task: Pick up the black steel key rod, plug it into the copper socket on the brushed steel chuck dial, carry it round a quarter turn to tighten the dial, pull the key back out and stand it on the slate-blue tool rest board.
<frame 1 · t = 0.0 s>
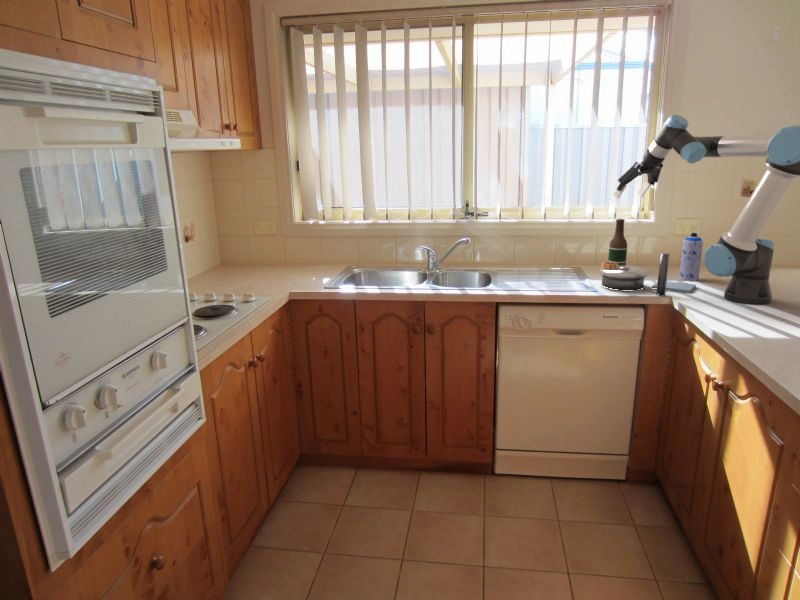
hand: (627, 195, 235), 36 cm above the worktop, tool tilted 35°, fingers open, 13 cm apart
chuck dial: (623, 269, 229), point 7 cm above the worktop, hinge at 0.0°
aerosol can: (688, 279, 242), on the worktop
beer bottle: (616, 271, 261), on the worktop
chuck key: (660, 294, 217), on the worktop
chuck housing: (622, 286, 231), on the worktop
tool rest: (673, 288, 227), on the worktop
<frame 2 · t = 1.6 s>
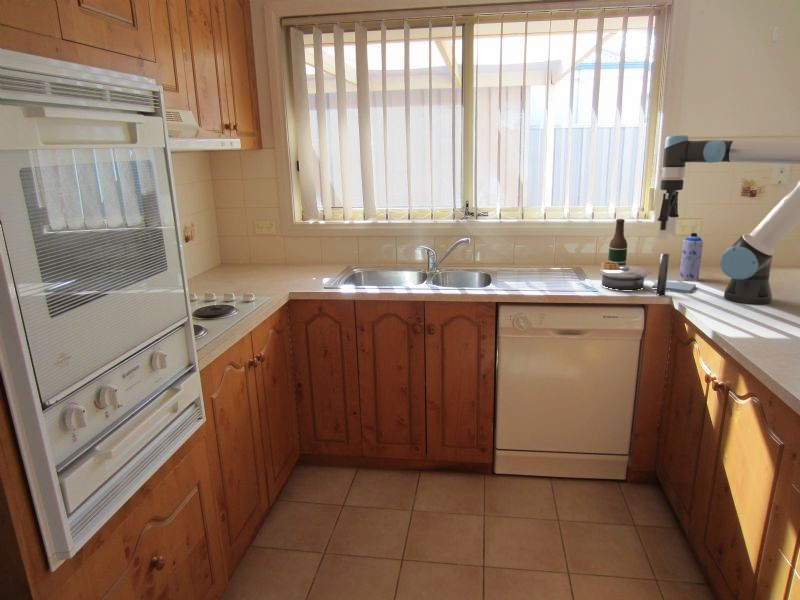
hand: (666, 236, 212), 23 cm above the worktop, tool pointing down, fingers open, 13 cm apart
nothing on the worktop moved.
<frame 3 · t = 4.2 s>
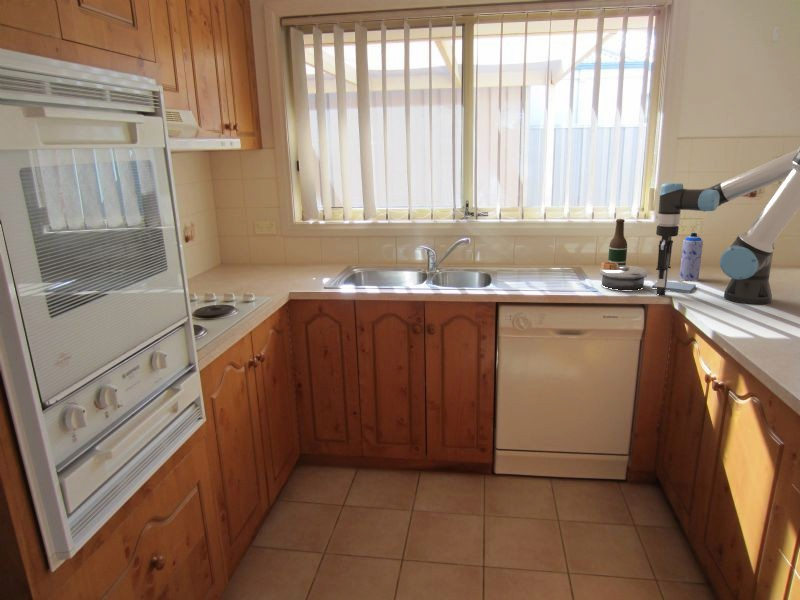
hand: (661, 285, 216), 4 cm above the worktop, tool pointing down, fingers closed on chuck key, 3 cm apart
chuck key: (660, 294, 217), on the worktop, touching gripper
everything else where it was.
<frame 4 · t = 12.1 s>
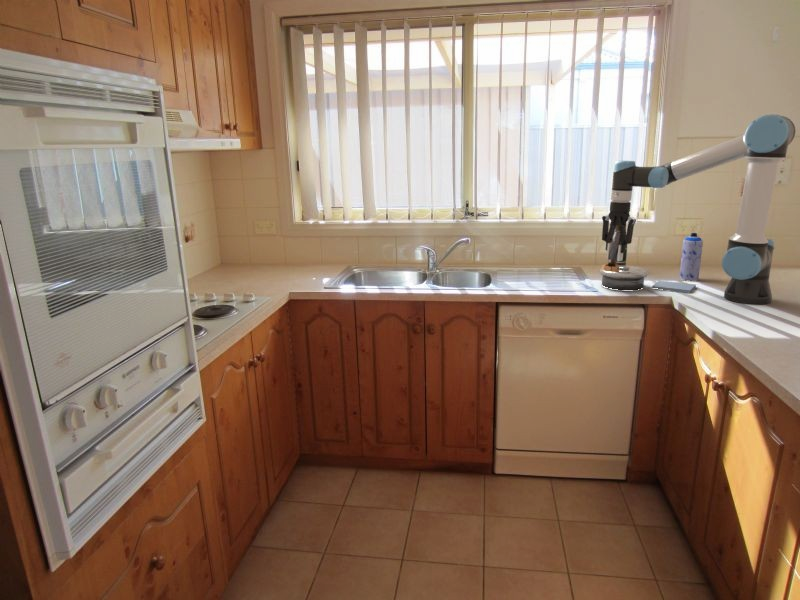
hand: (614, 259, 226), 12 cm above the worktop, tool pointing down, fingers closed on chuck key, 4 cm apart
chuck dial: (623, 269, 229), point 7 cm above the worktop, hinge at 43.2°, touching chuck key
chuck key: (610, 269, 228), point 8 cm above the worktop, tilted 12°, touching chuck dial, gripper
everything else where it was.
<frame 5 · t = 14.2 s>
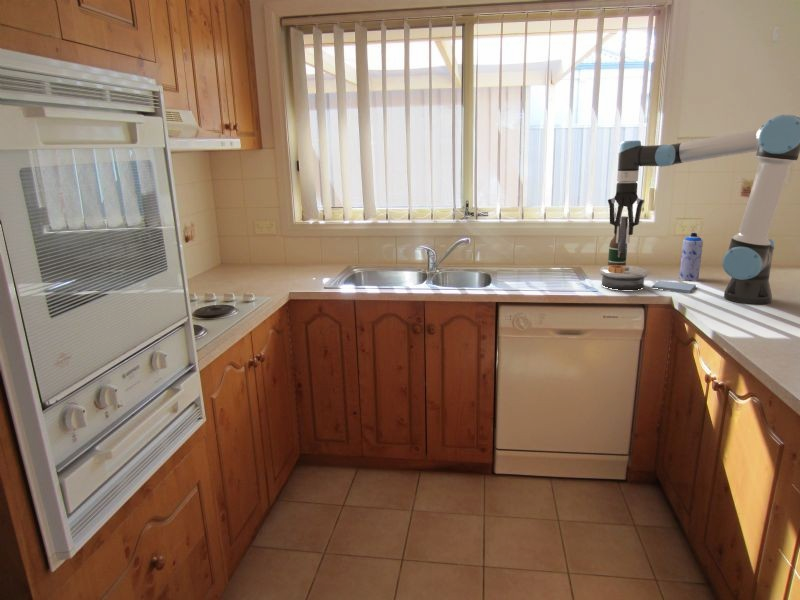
hand: (622, 242, 221), 19 cm above the worktop, tool pointing down, fingers closed on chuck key, 3 cm apart
chuck dial: (623, 269, 229), point 7 cm above the worktop, hinge at 75.4°
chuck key: (621, 256, 223), point 13 cm above the worktop, tilted 5°, touching gripper
everything else where it was.
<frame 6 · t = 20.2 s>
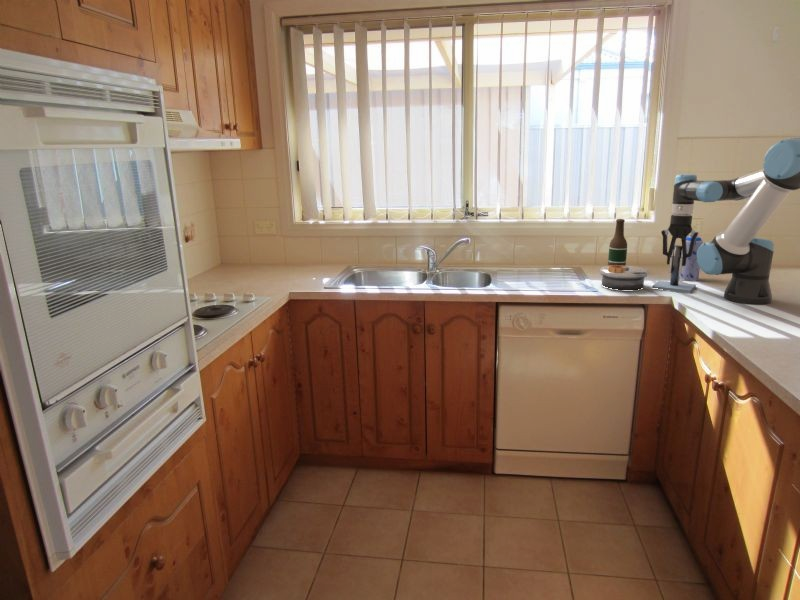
hand: (675, 273, 226), 6 cm above the worktop, tool pointing down, fingers closed on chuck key, 3 cm apart
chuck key: (674, 284, 227), point 1 cm above the worktop, touching gripper, tool rest
everything else where it was.
when the fingers open (6 cm above the worktop, at t = 20.5 s): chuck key stays where it is, resting on tool rest.
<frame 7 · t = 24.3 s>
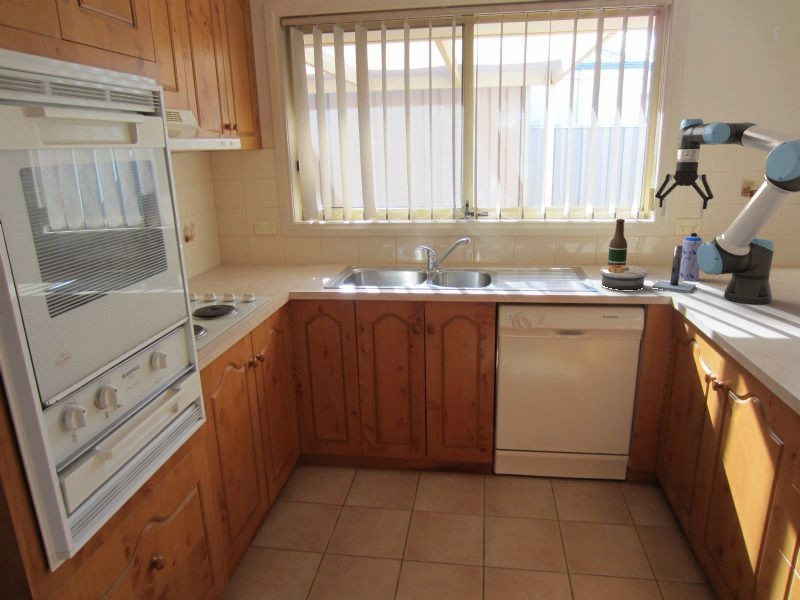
hand: (681, 217, 220), 29 cm above the worktop, tool pointing down, fingers open, 13 cm apart
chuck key: (674, 284, 227), point 1 cm above the worktop, touching tool rest
everything else where it was.
at the end: chuck dial at +75° (first picture: +0°); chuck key inside the target area on the tool rest (0.6 cm from its centre), point 1.2 cm above the tool rest's base; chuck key tilted 1° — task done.
